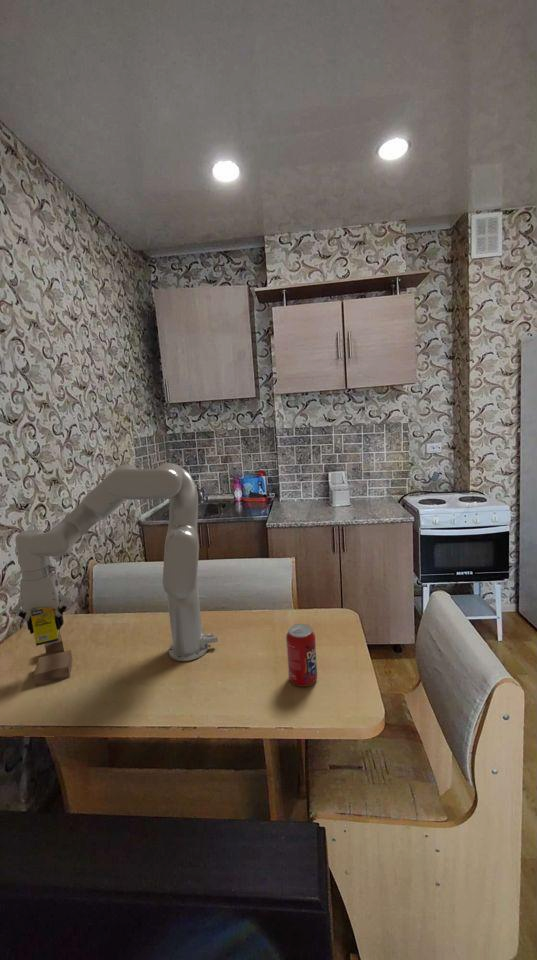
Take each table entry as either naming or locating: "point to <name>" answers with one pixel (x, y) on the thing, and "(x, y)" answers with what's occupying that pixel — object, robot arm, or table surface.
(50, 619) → the supplement box
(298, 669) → the soda can
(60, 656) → the base block
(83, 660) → the table surface
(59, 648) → the block
